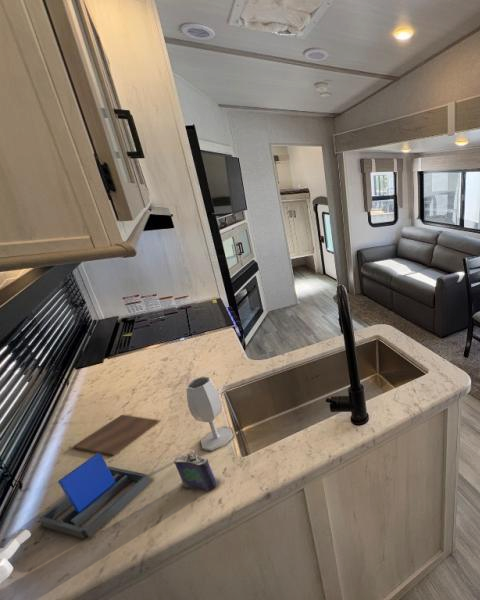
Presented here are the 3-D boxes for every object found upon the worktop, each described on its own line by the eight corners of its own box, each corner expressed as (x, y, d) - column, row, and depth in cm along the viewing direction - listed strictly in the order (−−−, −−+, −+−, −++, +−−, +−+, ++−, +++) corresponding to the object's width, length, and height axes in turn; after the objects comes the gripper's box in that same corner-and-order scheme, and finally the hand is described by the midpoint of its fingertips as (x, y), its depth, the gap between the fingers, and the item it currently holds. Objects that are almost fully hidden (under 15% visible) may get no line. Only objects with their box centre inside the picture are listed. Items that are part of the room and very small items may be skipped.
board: (74, 448, 94) (73, 446, 94) (122, 417, 107) (121, 414, 107) (113, 456, 91) (112, 453, 90) (158, 422, 103) (157, 420, 103)
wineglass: (238, 436, 95) (221, 379, 88) (209, 456, 88) (188, 395, 81) (224, 425, 100) (206, 370, 93) (195, 443, 93) (174, 385, 86)
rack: (41, 526, 72) (36, 519, 71) (110, 472, 85) (107, 465, 84) (87, 540, 68) (82, 532, 67) (151, 481, 82) (148, 474, 81)
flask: (181, 488, 79) (168, 456, 76) (191, 478, 82) (178, 446, 78) (212, 492, 77) (200, 460, 74) (221, 482, 80) (210, 450, 76)
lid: (79, 518, 73) (57, 481, 69) (115, 487, 80) (97, 452, 76) (83, 519, 73) (61, 482, 69) (119, 488, 80) (101, 453, 76)
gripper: (-81, 620, 46) (39, 526, 58) (-155, 587, 51) (-29, 506, 63) (-57, 644, 48) (54, 548, 60) (-130, 609, 53) (-13, 527, 65)
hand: (11, 526), depth 62 cm, fingers open, 8 cm apart
